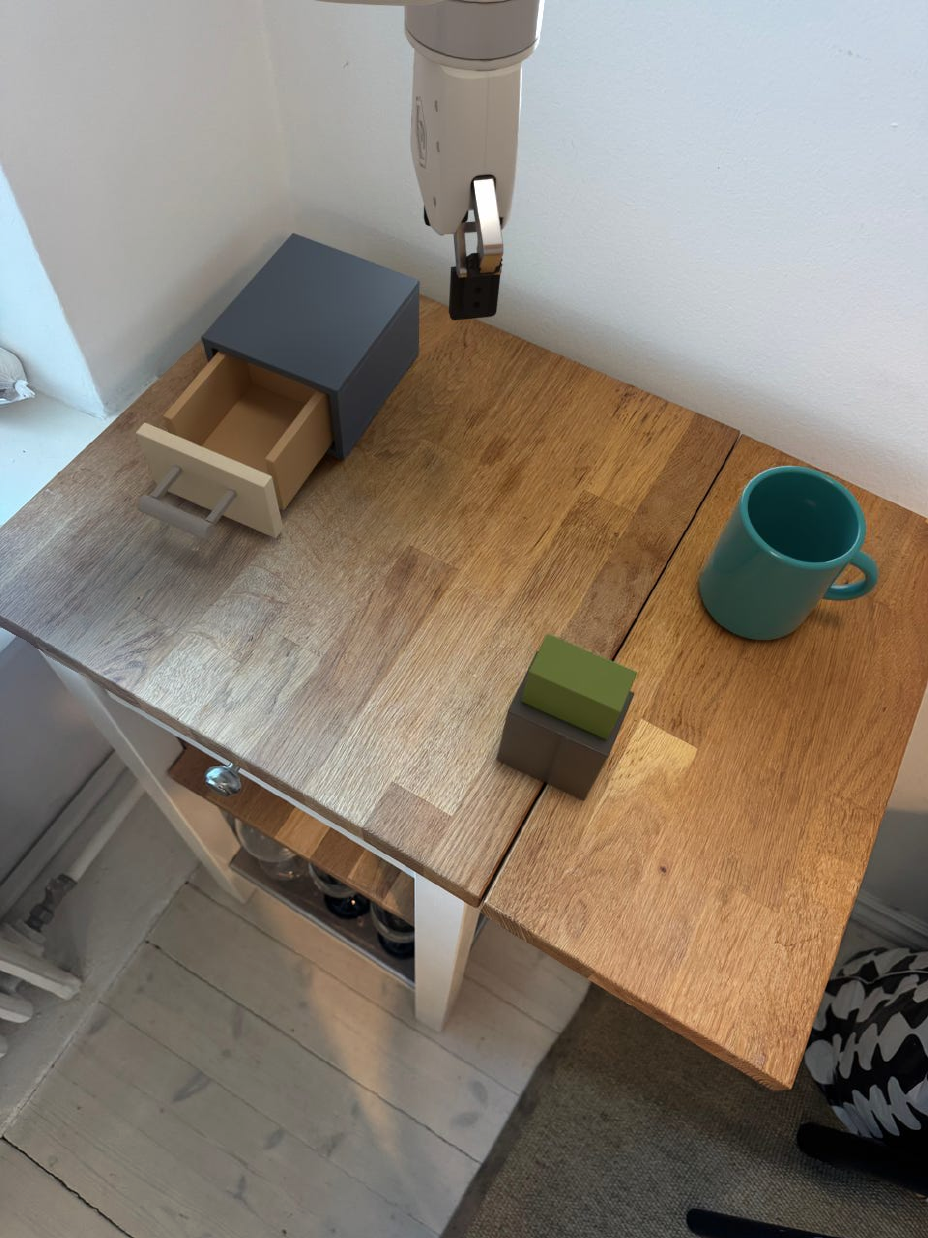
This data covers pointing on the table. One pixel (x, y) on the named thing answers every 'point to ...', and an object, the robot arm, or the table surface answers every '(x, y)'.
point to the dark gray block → (554, 746)
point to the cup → (785, 553)
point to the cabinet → (326, 329)
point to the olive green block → (577, 686)
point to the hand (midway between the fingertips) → (458, 267)
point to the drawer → (235, 447)
